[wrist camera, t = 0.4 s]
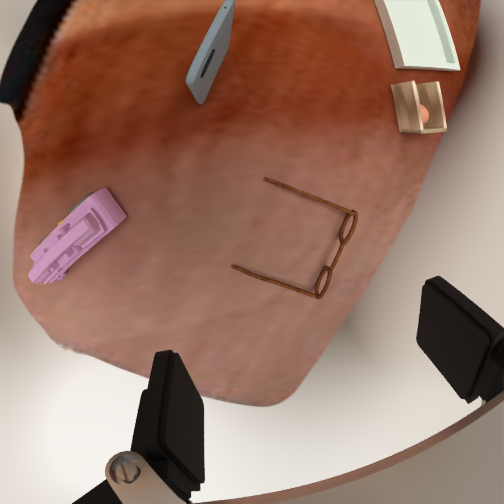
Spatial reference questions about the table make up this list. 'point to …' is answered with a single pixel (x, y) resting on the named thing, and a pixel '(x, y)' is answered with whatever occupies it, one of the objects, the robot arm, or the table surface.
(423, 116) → the ball
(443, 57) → the tray
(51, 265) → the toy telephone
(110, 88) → the table surface
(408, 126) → the beige open holder
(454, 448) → the robot arm
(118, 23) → the table surface
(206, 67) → the smartphone
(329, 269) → the glasses
